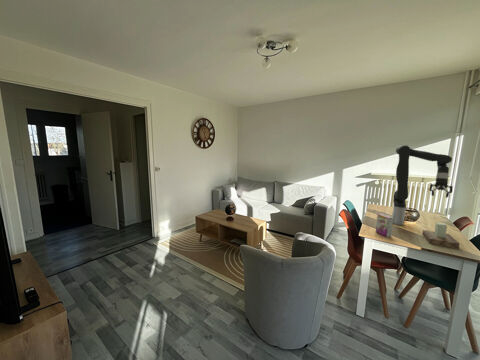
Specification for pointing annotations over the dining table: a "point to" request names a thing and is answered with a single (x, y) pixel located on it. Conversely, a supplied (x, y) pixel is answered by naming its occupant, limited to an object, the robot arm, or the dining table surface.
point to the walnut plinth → (440, 239)
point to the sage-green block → (440, 230)
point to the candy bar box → (384, 225)
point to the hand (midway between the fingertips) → (439, 196)
